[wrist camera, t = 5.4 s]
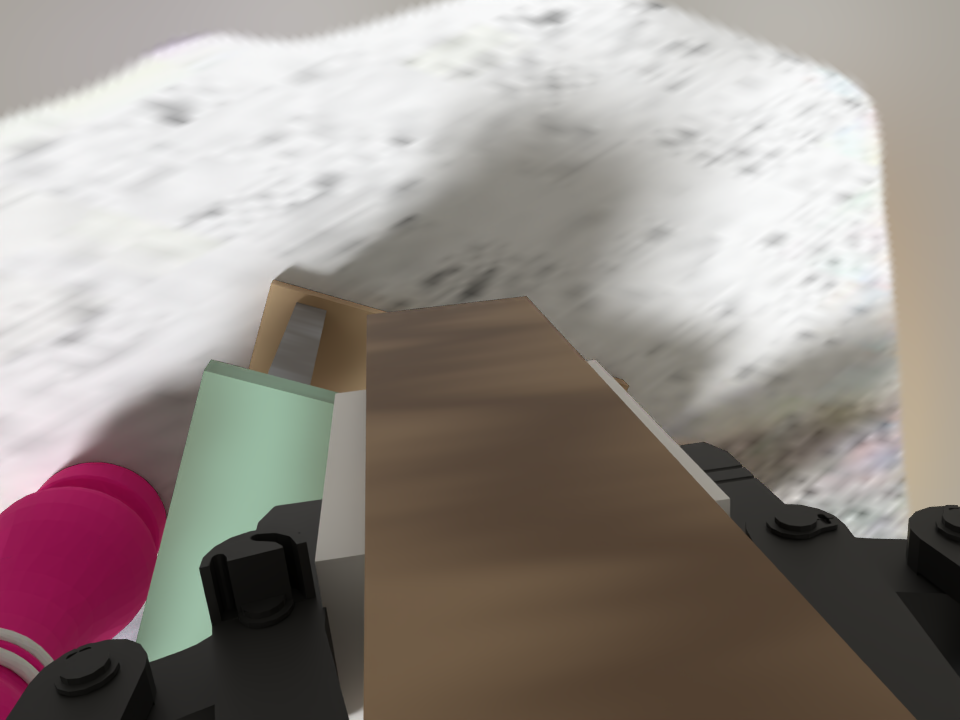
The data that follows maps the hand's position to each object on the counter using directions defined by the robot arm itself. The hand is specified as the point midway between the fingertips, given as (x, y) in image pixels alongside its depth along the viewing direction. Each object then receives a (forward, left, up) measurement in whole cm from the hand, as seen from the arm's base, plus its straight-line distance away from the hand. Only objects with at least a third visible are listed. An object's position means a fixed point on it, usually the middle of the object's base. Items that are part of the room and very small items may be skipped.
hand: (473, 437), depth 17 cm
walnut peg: (0, 0, -4) cm, 4 cm away
